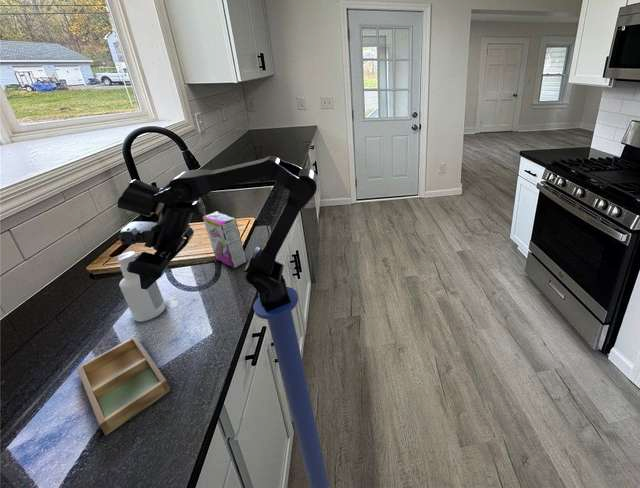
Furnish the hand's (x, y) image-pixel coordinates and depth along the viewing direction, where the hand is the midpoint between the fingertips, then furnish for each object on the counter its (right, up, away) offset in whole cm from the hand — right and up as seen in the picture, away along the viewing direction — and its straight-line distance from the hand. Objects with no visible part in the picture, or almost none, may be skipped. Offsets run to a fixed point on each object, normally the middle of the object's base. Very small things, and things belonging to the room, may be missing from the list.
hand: (154, 276), depth 75 cm
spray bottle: (-7, -12, +8) cm, 17 cm away
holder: (+3, -19, -11) cm, 22 cm away
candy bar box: (+3, -3, +30) cm, 30 cm away
